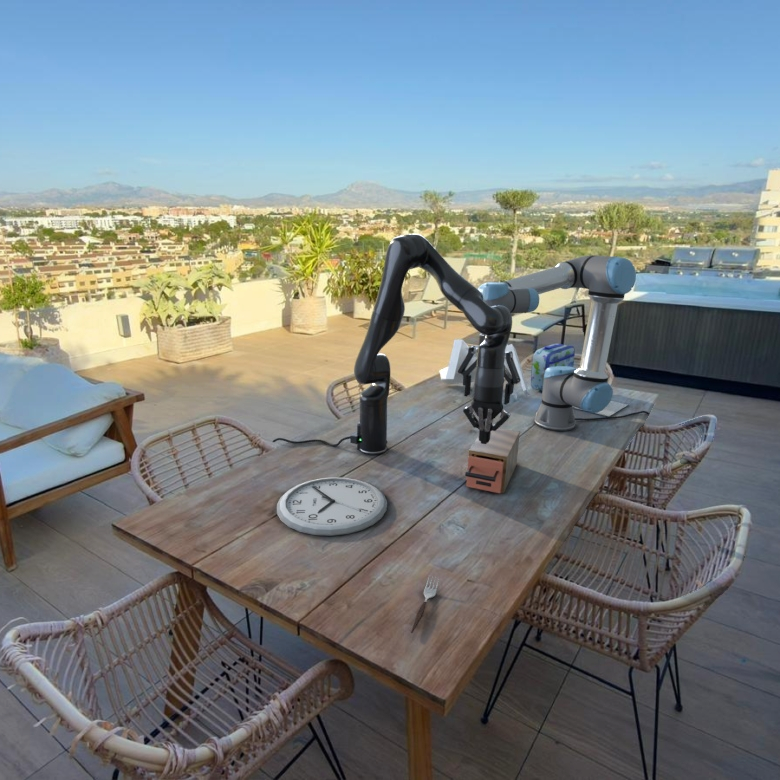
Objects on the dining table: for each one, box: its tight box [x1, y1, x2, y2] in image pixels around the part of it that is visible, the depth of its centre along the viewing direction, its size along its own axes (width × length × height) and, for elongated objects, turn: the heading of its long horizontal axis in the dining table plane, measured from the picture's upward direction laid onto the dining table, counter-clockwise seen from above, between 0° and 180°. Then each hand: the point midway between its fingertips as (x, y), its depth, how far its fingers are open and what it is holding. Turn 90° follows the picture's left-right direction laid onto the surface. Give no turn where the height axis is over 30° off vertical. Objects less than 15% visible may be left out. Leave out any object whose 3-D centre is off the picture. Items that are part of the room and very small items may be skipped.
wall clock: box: [276, 476, 388, 537], centre depth 142 cm, size 30×2×30 cm
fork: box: [410, 574, 440, 634], centre depth 104 cm, size 3×16×2 cm, turn 160°
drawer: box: [464, 454, 504, 494], centre depth 155 cm, size 26×10×9 cm, turn 157°
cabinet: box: [468, 427, 521, 494], centre depth 161 cm, size 21×11×11 cm, turn 157°
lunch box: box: [530, 343, 576, 391], centre depth 249 cm, size 26×11×21 cm, turn 134°
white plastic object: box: [438, 338, 531, 400], centre depth 245 cm, size 37×45×31 cm
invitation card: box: [573, 400, 629, 417], centre depth 226 cm, size 21×1×15 cm
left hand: (484, 442), depth 143 cm, fingers closed
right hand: (486, 399), depth 167 cm, fingers open, 13 cm apart
